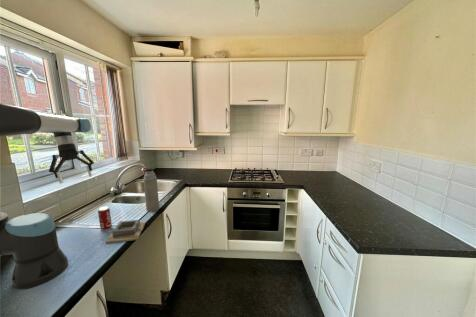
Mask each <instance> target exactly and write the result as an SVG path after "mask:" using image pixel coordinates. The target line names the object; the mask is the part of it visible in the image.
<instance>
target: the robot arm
mask: <svg viewBox="0 0 476 317" xmlns="http://www.w3.org/2000/svg"><path fill="white" fill-rule="evenodd" d="M91 125H92V124H91V122H90V120H89V119H88V118H85V117H84V118H83V117H70V116H64V115H56V114H49V113H48V114H47V113H41V112H36V111H35V110H33V109H32V108H27V107H20V106H16V105H15V106H14V105H11V104H5V103H0V138H1V137H10V136H19V135H33V134H35V133H38V132H39V133H40V132H41V133H48V134H53V136H54V140H55V144H56V145H57V150H58V153H59V154H52V156H51V157H52V160H51V163H50V167H49V169H48V172H49V173H53V174H54V177H55V179H58V182H59V184H63V183H64V181H63V180H64V179H63V177H62V174H61V171H60V169H61V168H62V166H63V165H64V163H65V162H66V161H67V162H68V161H69V162H70V161H71V160H78V161H79V162H81V163H83V164H85V165H86V170H87V174H88V176H89V178H90V177H92V176H93V174H92V172H93V166H92V165H94V164H95V162H94V161H93V159H91V158H90V157H89V155H87V154H86V152H85V151H84V150H82V149H80V150H77V147H76V145H75V142H74V138H73V137H74V136H73V134H72V133H88V132H90V131H91V128H92V126H91ZM79 154H80V155H82V157H84V158H85V159H86V160H87V161H86V160H85V159H83V158H81V157H79V156H78V155H79ZM59 158H61V159H60V161H59V162H58V164H57V161H58V159H59ZM56 164H57V165H56ZM8 255H13V259H14V267H13V271H12V276H11V283H12V287H13V288H15V289H17V290H26V289H30V288H34V287H37V286H40V285H42V284H43V285H44V284H45V283H47V282H49V281H50V280H52V279H54V278H56V277H57V276H60V274H61V273H62V272H64V271H65V269H66V268H67V267H68V265H69V261H68V257H67V255H66V254H65V253H64V252H63V251H62V249H61V248H60V245H59V241H58V236H57V230H56V223H55V222H54V218H53V217H52V215H51V214H48V213H43V212H34V213H28V214H22V215H19V216H16V217H13V218H11V219H9V214H8V213H6V212H2V211H0V257H2V256H8Z"/></svg>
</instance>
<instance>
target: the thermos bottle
mask: <svg viewBox="0 0 476 317" xmlns="http://www.w3.org/2000/svg"><path fill="white" fill-rule="evenodd" d="M143 188H144V196H145V198H144V199H145V207H146V208H145V209H146V211H147V212H149V211H152V212H156V211H158V210H159V209H160V202H159V190H158V189H159V188H158V177H157V175H156V173H155V172H154V168H146V169H145V174H144V176H143Z"/></svg>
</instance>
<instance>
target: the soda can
mask: <svg viewBox="0 0 476 317" xmlns="http://www.w3.org/2000/svg"><path fill="white" fill-rule="evenodd" d="M97 211H98V212H97V214H98V219H99V221H98V222H99V227H100V230H101V231H103V232H104V231H105V232H106V231H109V230H110V229H111V228H112V226H113V225H112V224H113V222H112V216H111V211H110V208H109V206H101V207H99V208H98V210H97Z"/></svg>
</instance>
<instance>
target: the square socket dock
mask: <svg viewBox="0 0 476 317" xmlns="http://www.w3.org/2000/svg"><path fill="white" fill-rule="evenodd" d="M145 225H146V221H141V220H140V219H134V220H123V221H119V223H117V225H116V226H115V228H113V230H112V231H111V232H112V233H111V234H110V235H109V236H108V238H107V239H106V240H105V244H113V243H112V242H115V243H121V242H120V241H124V242H129V241H132V242H133V241H138V239H139V237H140V235H141V234H142V231H143V229H144V228H145Z"/></svg>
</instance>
